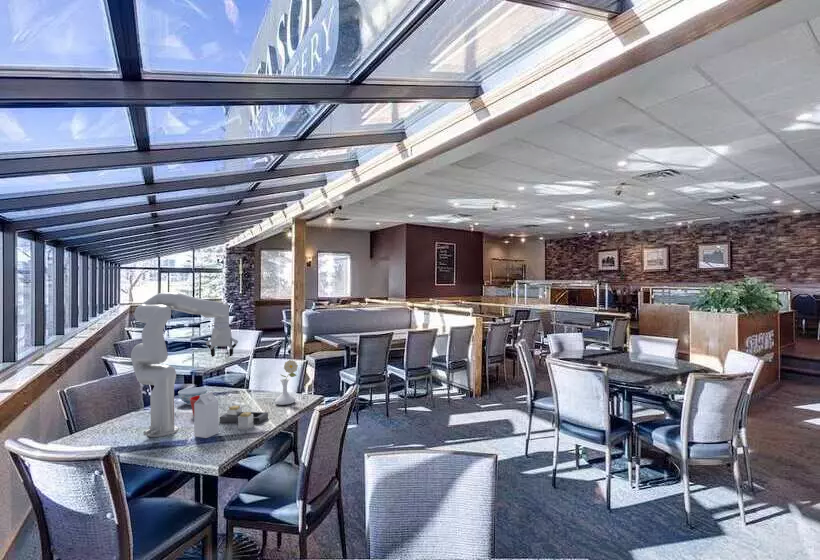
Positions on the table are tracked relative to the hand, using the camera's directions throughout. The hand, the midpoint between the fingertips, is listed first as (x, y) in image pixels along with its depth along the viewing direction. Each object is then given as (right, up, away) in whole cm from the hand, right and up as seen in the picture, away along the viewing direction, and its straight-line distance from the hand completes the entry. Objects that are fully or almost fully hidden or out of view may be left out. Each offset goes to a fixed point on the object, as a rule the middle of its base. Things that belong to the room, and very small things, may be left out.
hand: (222, 356), depth 236 cm
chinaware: (-21, -30, +10) cm, 38 cm away
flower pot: (-5, -29, -14) cm, 33 cm away
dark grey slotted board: (+22, -28, -24) cm, 43 cm away
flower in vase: (+35, -29, +6) cm, 45 cm away
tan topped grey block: (+17, -29, -23) cm, 40 cm away
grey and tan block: (+27, -28, -34) cm, 52 cm away
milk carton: (+12, -29, -43) cm, 53 cm away
